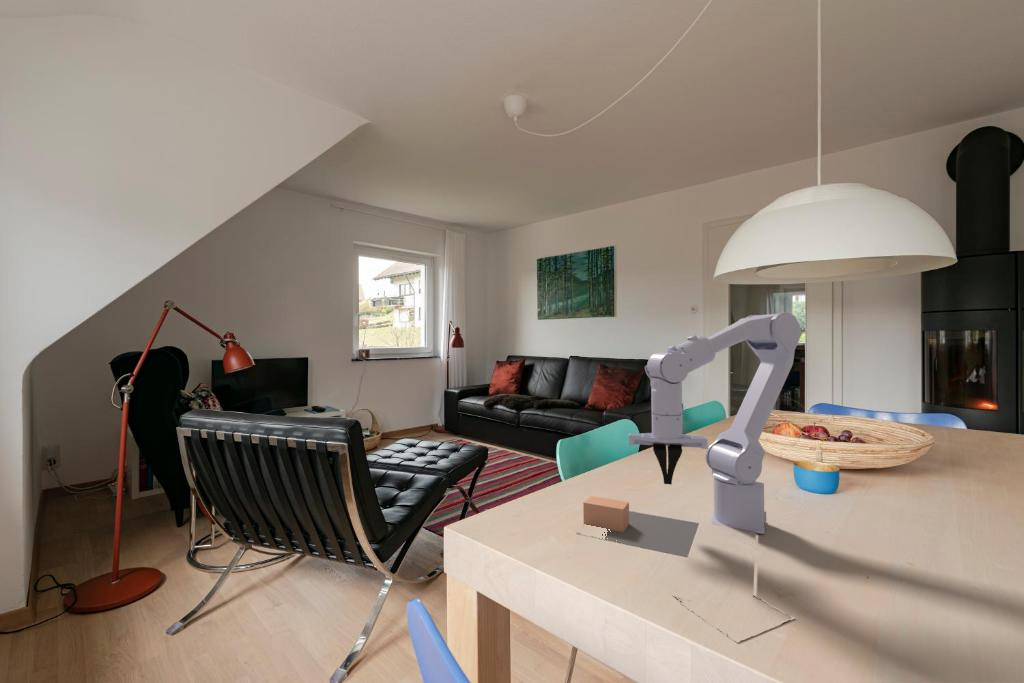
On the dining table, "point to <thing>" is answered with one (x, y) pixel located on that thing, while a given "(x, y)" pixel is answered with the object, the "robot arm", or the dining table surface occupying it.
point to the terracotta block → (606, 513)
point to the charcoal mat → (656, 534)
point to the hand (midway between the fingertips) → (667, 482)
